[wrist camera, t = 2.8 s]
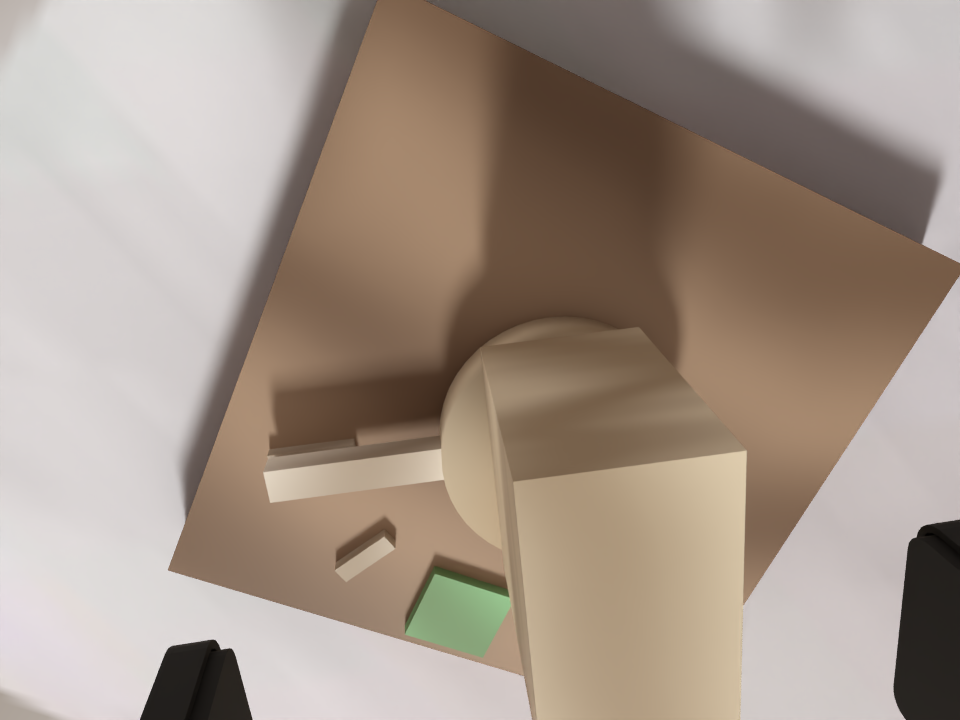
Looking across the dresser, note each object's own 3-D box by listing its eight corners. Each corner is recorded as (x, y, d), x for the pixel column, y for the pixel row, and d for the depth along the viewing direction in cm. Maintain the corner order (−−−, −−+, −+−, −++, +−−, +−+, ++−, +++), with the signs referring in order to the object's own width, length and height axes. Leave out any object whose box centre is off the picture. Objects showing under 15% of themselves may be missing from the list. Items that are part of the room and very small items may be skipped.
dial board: (386, -12, 15) (383, -22, 13) (921, 250, 18) (974, 269, 16) (186, 532, 19) (164, 578, 17) (652, 676, 21) (672, 728, 20)
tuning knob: (671, 302, 16) (823, 439, 10) (673, 513, 17) (803, 734, 12) (248, 354, 15) (150, 530, 10) (296, 565, 17) (238, 820, 11)
